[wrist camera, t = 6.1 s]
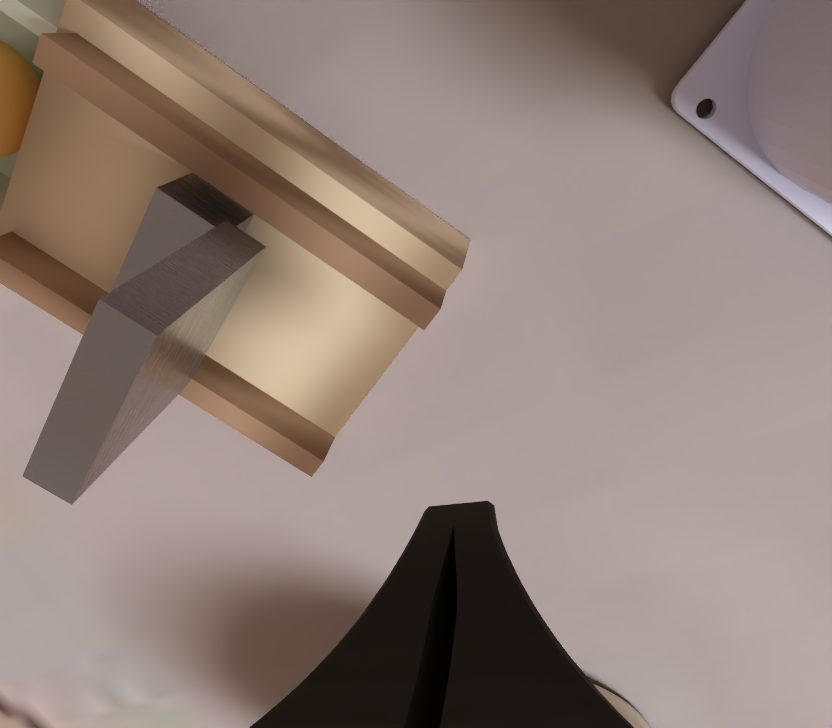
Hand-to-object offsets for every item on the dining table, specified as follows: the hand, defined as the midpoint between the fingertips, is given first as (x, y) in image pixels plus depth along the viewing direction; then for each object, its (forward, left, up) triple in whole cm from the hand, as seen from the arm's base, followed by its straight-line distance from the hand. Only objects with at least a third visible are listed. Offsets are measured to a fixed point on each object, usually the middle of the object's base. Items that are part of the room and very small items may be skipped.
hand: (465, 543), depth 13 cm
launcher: (+9, +2, -11) cm, 14 cm away
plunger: (+9, +2, -7) cm, 12 cm away
